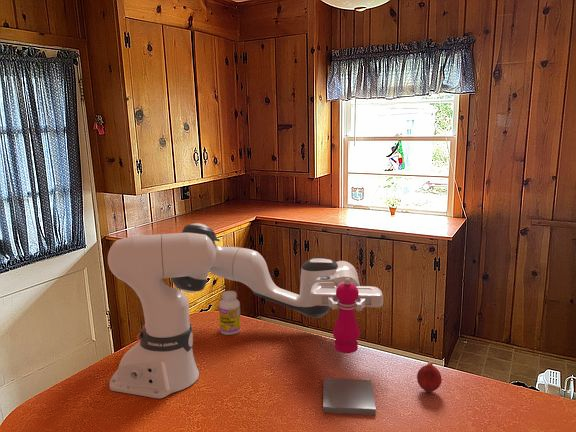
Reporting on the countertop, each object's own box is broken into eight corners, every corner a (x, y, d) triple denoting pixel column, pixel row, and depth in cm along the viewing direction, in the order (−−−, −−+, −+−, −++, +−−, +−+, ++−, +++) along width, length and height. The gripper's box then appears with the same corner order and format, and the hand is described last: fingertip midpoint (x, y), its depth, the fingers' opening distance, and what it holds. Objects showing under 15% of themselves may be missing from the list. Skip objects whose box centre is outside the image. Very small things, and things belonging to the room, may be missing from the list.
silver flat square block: (323, 412, 106) (323, 406, 106) (323, 383, 118) (323, 378, 118) (375, 414, 105) (375, 409, 105) (370, 385, 117) (370, 379, 117)
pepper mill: (342, 357, 120) (343, 285, 116) (327, 345, 127) (328, 276, 122) (364, 350, 123) (367, 280, 119) (349, 339, 130) (350, 272, 126)
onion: (441, 400, 111) (443, 370, 109) (417, 397, 112) (418, 367, 110) (439, 386, 116) (441, 357, 114) (415, 384, 117) (417, 355, 116)
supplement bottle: (216, 334, 145) (215, 296, 142) (224, 325, 151) (222, 288, 149) (236, 336, 144) (235, 298, 141) (243, 327, 150) (242, 290, 147)
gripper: (380, 299, 135) (386, 319, 121) (310, 297, 137) (309, 317, 123) (381, 279, 134) (387, 297, 120) (310, 277, 135) (309, 295, 122)
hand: (347, 307), depth 122 cm, fingers closed on pepper mill, 5 cm apart
